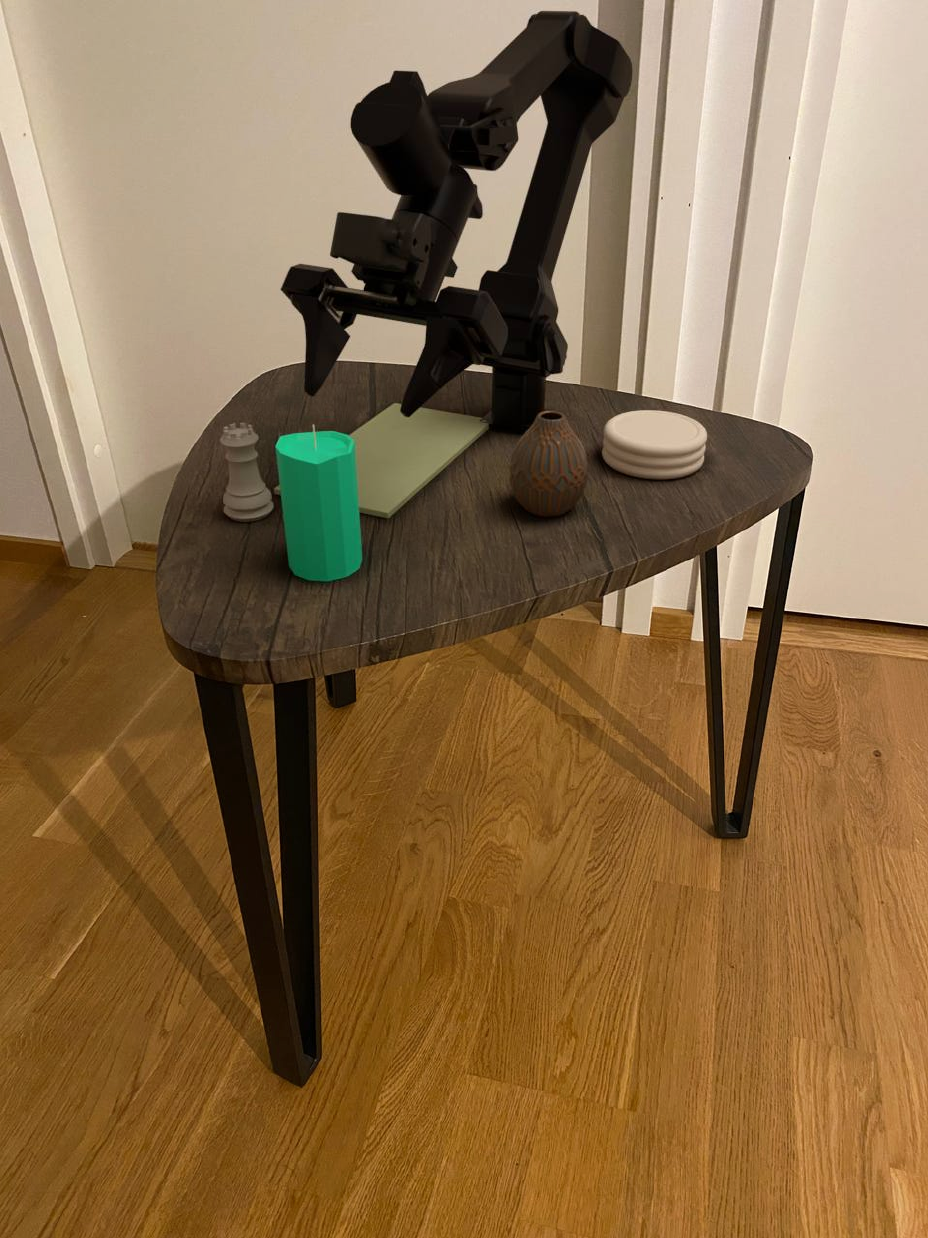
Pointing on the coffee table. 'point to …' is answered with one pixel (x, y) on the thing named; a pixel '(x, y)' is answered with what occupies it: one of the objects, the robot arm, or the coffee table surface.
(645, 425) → the coaster
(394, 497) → the pale green rectangular board
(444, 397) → the coffee table surface
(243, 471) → the rook chess piece
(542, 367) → the robot arm
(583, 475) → the vase
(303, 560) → the candle
